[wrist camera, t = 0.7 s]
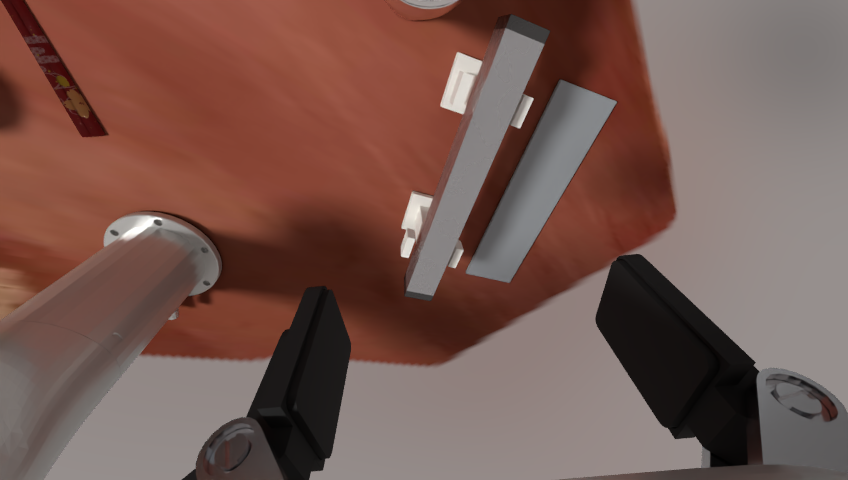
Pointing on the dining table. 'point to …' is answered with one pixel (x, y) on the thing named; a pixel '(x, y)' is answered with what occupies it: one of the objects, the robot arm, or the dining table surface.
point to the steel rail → (474, 148)
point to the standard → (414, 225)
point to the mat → (540, 178)
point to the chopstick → (53, 69)
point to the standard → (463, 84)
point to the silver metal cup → (422, 8)
